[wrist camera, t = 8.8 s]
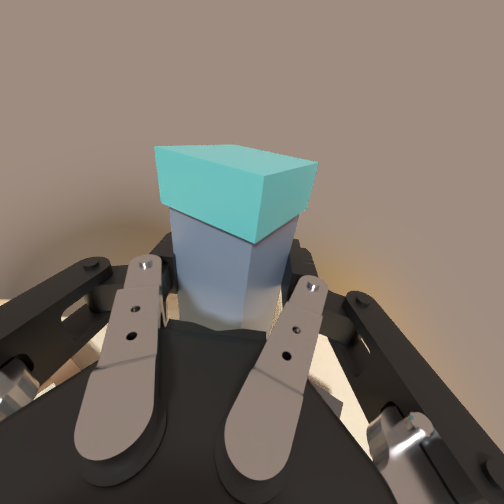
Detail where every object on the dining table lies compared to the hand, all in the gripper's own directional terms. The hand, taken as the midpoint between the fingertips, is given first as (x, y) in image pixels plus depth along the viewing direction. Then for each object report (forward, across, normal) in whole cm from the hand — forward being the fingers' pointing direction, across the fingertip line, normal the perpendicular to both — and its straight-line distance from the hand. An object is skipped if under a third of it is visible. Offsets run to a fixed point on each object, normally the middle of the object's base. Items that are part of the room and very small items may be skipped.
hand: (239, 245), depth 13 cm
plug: (-3, 0, +9) cm, 9 cm away
